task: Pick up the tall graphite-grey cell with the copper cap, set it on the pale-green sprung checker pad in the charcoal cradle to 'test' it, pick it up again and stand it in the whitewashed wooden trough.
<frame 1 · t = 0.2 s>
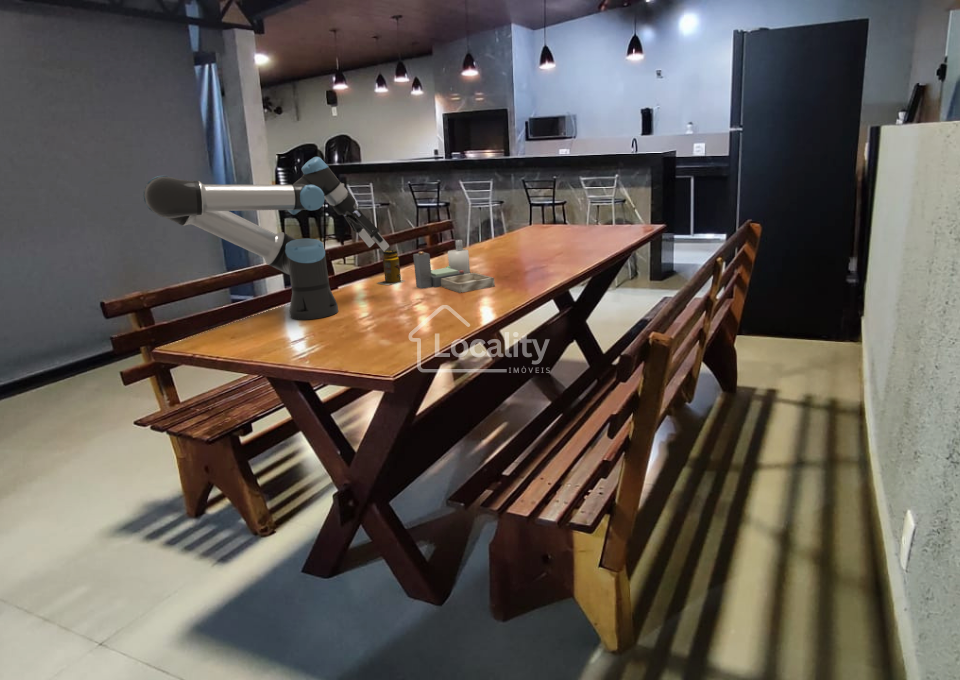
hand: (379, 246, 235), 16 cm above the table, tool tilted 35°, fingers open, 13 cm apart
cell: (424, 286, 243), on the table
trough: (467, 286, 238), on the table
checker pad: (441, 272, 248), point 4 cm above the table, slide at -0.2 cm
checker base: (442, 282, 249), on the table
condiment: (391, 282, 256), on the table
white bottle: (459, 273, 262), on the table
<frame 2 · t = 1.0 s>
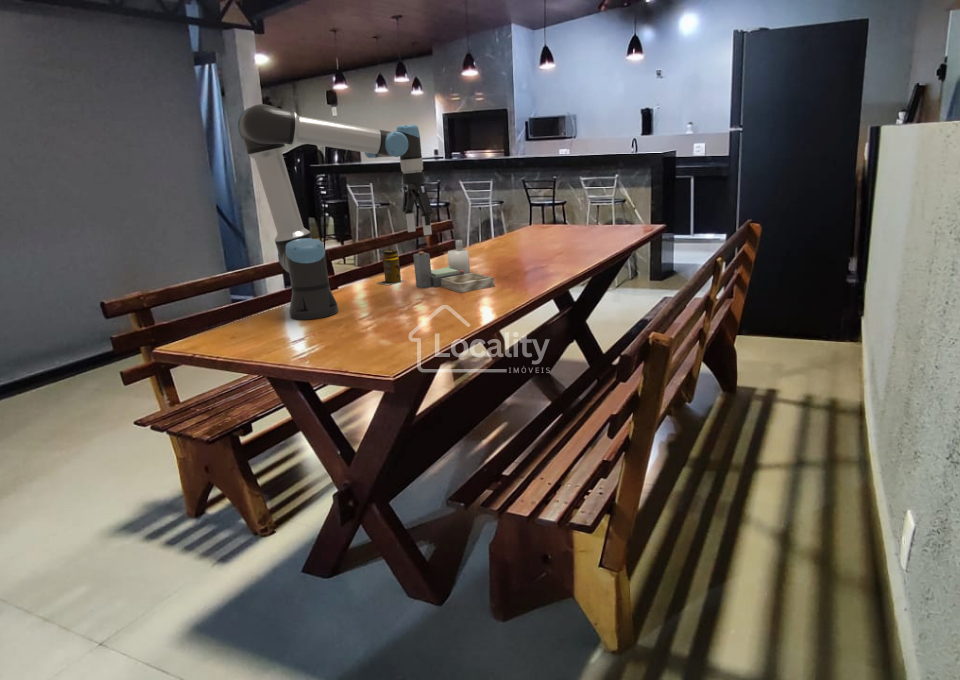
hand: (419, 233, 238), 19 cm above the table, tool pointing down, fingers open, 13 cm apart
nothing on the table moved.
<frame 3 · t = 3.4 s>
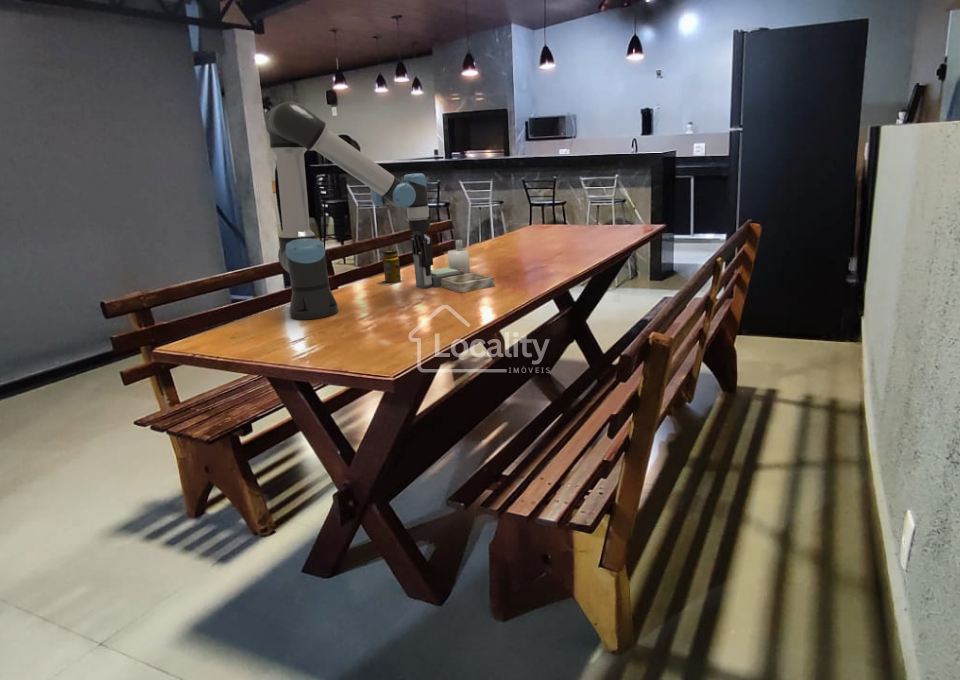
hand: (425, 283, 243), 1 cm above the table, tool pointing down, fingers closed on cell, 4 cm apart
cell: (424, 286, 243), on the table, touching gripper
everything else where it was.
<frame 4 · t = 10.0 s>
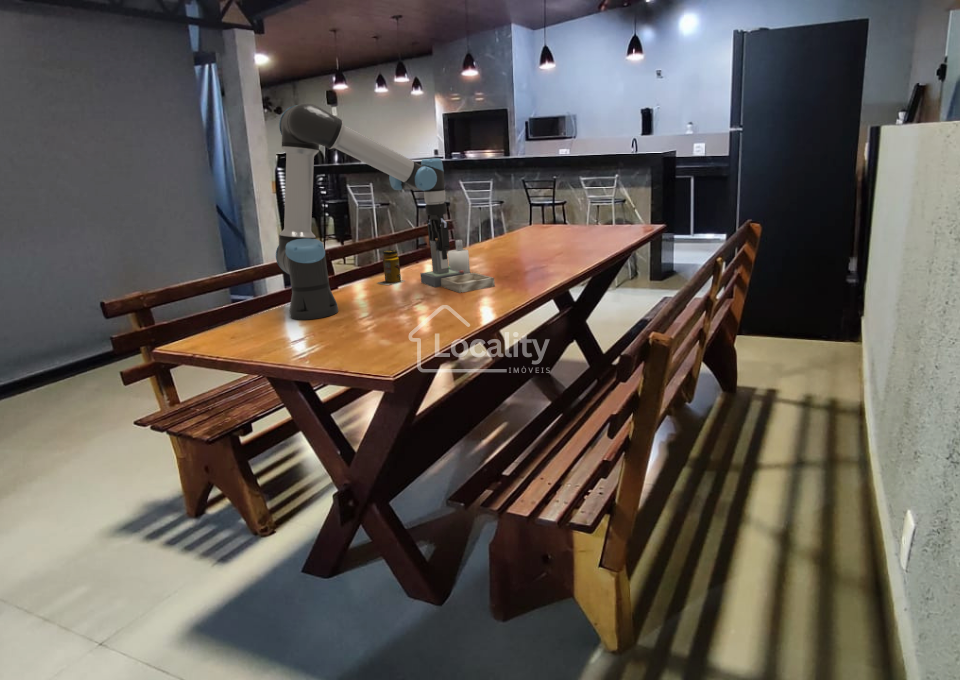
hand: (441, 267, 247), 6 cm above the table, tool pointing down, fingers closed on cell, 4 cm apart
cell: (440, 272, 248), point 4 cm above the table, touching checker pad, gripper
checker pad: (442, 274, 248), point 3 cm above the table, slide at -0.8 cm, touching cell
everything else where it was.
when the fingers open (3 cm above the table, at t = 15.2 s): cell stays where it is, resting on trough.
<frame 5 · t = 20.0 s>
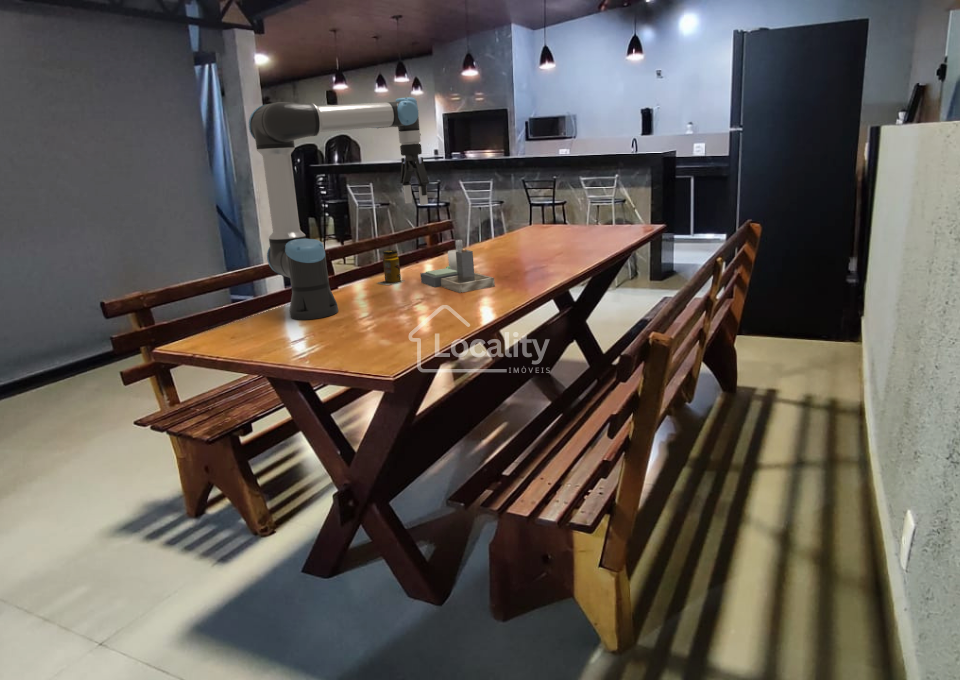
hand: (416, 204, 246), 29 cm above the table, tool pointing down, fingers open, 13 cm apart
cell: (466, 284, 238), point 1 cm above the table, touching trough
checker pad: (441, 273, 248), point 3 cm above the table, slide at -0.4 cm
everything else where it was.
at the end: cell inside the target area on the trough (0.3 cm from its centre), point 0.6 cm above the trough's base; cell tilted 0°; the gripper is holding nothing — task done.
